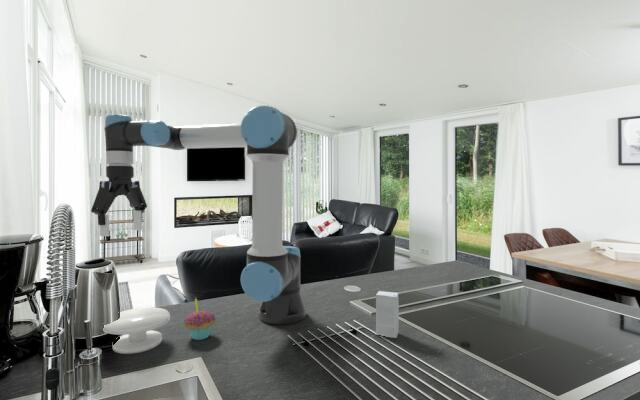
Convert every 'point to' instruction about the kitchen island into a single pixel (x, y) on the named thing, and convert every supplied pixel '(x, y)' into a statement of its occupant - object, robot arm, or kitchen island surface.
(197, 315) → the cupcake
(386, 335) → the skincare box
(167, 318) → the cake stand
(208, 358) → the kitchen island surface
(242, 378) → the kitchen island surface
